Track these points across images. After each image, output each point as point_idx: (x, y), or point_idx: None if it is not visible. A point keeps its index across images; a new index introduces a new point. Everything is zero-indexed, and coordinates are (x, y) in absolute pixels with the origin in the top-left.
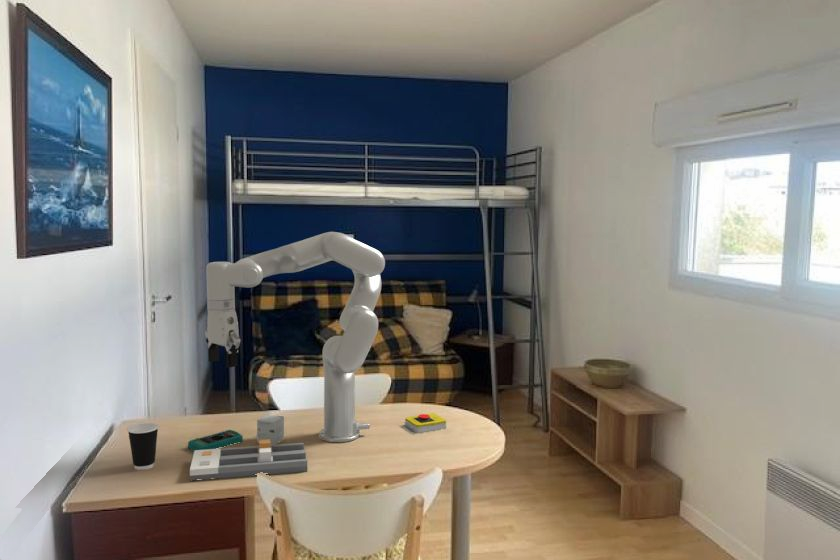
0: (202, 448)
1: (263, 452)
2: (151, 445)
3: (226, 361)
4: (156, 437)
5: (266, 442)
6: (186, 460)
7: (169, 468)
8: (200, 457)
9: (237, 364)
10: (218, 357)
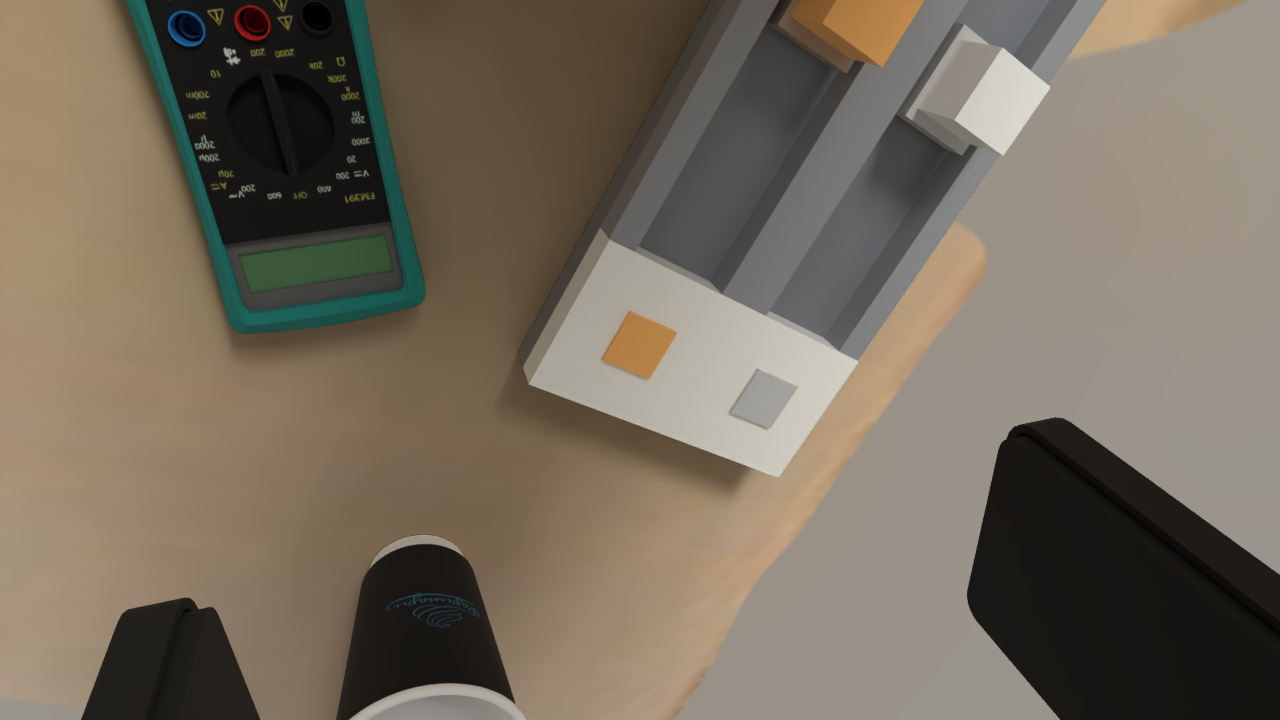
0: (424, 288)
1: (1018, 132)
2: (495, 644)
3: (1057, 704)
4: (472, 645)
5: (905, 9)
6: (474, 385)
7: (532, 482)
8: (665, 391)
9: (1072, 426)
10: (201, 685)
